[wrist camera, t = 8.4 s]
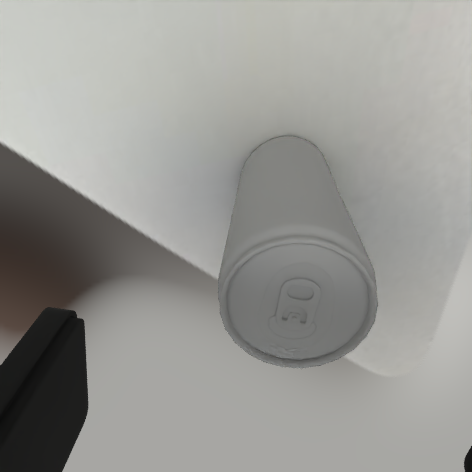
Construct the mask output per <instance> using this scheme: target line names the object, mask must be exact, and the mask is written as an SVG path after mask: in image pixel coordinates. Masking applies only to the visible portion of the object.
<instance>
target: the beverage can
mask: <svg viewBox="0 0 472 472" xmlns="http://www.w3.org/2000/svg"><path fill="white" fill-rule="evenodd" d="M376 291H377V288H376V280H375V272H374V269H373V266H372V264H371V262H370V259H369V257H368V255H367V252H366V250H365V248H364V246H363V243H362V241H361V239H360V237H359V235H358V232H357V230H356V228H355V226H354V224H353V222H352V220H351V218H350V216H349V213H348V211H347V209H346V207H345V205H344V203H343V200H342V198H341V196H340V194H339V191H338V189H337V187H336V184H335V182H334V180H333V177H332V175H331V172H330V170H329V168H328V165H327V163H326V161H325V158H324V156H323V154H322V153H321V152H320V151H319V149H318V148H317V147H316V146H315V145H313V144H312V143H310V142H308V141H307V140H304V139H301V138H298V137H294V136H282V137H278V138H274V139H271V140H269V141H267V142H265V143H264V144H262V145H260V146H259V147H258V148H257V149H256V150H255V151H254V152H253V153H252V154H251V155H250V157H249V158H248V160H247V161H246V162H245V165H244V167H243V170H242V172H241V176H240V181H239V185H238V190H237V195H236V199H235V204H234V208H233V213H232V217H231V222H230V227H229V231H228V236H227V241H226V246H225V250H224V255H223V260H222V264H221V269H220V274H219V279H218V299H219V302H220V315H221V318H222V321H223V324H224V327H225V329H226V330H227V332H228V333H229V335H230V336H231V337H232V339H233V341H235V343H236V344H237V345H238V346H240V347H241V348H242V349H243V350H244V351H246V352H247V353H248V354H249V355H251V356H253V357H255V358H257V359H259V360H261V361H263V362H266V363H270V364H273V365H277V366H281V367H292V368H306V367H313V366H320V365H323V364H326V363H329V362H332V361H334V360H337V359H339V358H341V357H342V356H344V355H346V354H347V353H349V352H351V351H352V350H354V349H355V348H356V347H357V346H358V345H359V344H360V343H361V342H362V340H363V339H364V338H365V337H366V336H367V334H368V332H369V331H370V329H371V327H372V325H373V323H374V321H375V317H376V312H377V306H378V301H377V293H376Z"/></svg>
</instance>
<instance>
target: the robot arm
mask: <svg viewBox="0 0 472 472" xmlns="http://www.w3.org/2000/svg"><path fill="white" fill-rule="evenodd" d="M84 328H85V326H84V320H83V319H80V318H77V314H76V312H75V311H72V310H65V309H58V308H51V307H48V308H46V309H45V310H44V311H43V312H42V313H41V314H40V316H39V317H38V318H37V319H36V321H35V322H34V323H33V325H32V326H31V327H30V328H29V330H28V331H27V332H26V334H25V335H24V336H23V337H22V339H21V340H20V341H19V343H18V344H17V345H16V346H15V348H14V349H13V350H12V352H11V353H10V354H9V355H8V357H7V358H6V359H5V361H4V362H3V363H2V365H0V472H62V471H63V469H64V466H65V464H66V462H67V460H68V458H69V455H70V453H71V451H72V448H73V446H74V444H75V442H76V440H77V438H78V435H79V433H80V431H81V429H82V427H83V424H84V422H85V419H86V416H87V412H88V388H87V369H86V349H85V348H86V347H85V329H84ZM464 468H465V472H472V446H471V448H470V450H469V452H468V453H467V455H466V457H465V461H464Z"/></svg>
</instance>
